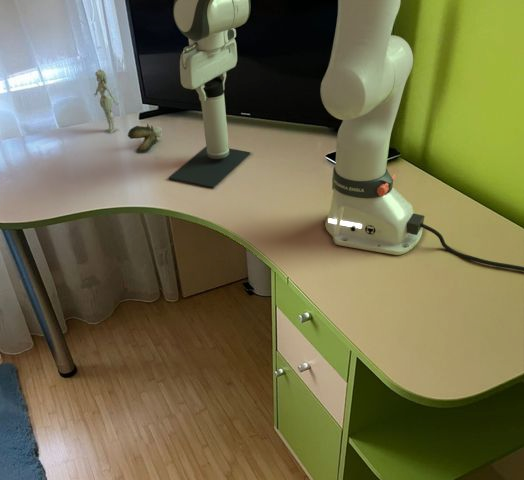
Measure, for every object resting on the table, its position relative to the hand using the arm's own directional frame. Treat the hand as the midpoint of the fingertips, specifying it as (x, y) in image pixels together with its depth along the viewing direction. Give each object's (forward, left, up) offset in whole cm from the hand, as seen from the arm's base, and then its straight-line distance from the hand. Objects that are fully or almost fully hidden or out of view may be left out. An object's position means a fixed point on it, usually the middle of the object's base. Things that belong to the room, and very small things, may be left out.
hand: (212, 95), depth 146 cm
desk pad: (0, +4, -18) cm, 19 cm away
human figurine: (+43, -2, -18) cm, 47 cm away
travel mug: (0, 0, -16) cm, 16 cm away
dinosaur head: (+25, +2, -18) cm, 31 cm away
